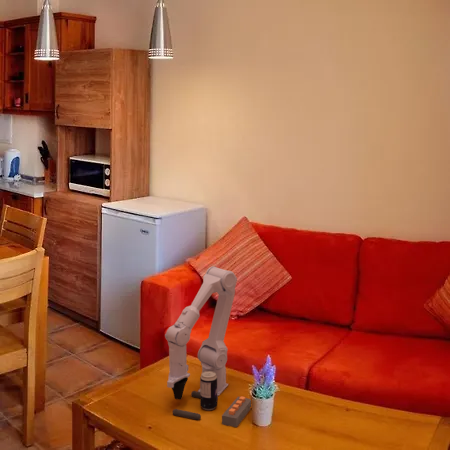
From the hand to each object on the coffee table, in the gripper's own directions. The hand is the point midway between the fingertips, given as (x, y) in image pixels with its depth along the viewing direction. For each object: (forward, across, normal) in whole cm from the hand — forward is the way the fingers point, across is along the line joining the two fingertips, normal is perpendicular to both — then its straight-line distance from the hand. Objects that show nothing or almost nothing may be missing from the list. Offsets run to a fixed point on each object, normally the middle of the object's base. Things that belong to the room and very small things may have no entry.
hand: (178, 398), depth 209 cm
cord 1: (+2, -8, -6) cm, 10 cm away
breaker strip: (+2, -2, -21) cm, 22 cm away
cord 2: (+2, +6, -7) cm, 10 cm away
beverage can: (+2, +1, -11) cm, 11 cm away
